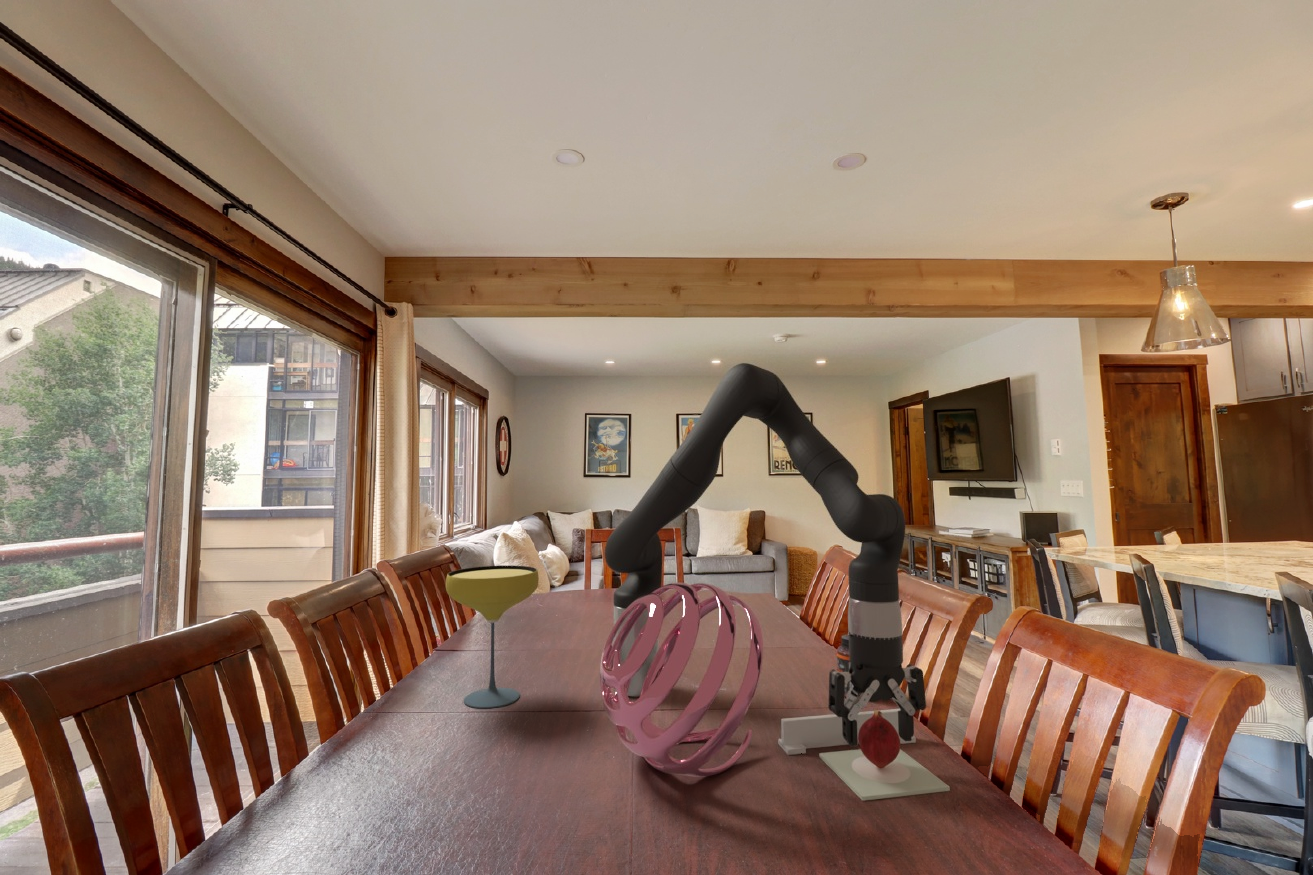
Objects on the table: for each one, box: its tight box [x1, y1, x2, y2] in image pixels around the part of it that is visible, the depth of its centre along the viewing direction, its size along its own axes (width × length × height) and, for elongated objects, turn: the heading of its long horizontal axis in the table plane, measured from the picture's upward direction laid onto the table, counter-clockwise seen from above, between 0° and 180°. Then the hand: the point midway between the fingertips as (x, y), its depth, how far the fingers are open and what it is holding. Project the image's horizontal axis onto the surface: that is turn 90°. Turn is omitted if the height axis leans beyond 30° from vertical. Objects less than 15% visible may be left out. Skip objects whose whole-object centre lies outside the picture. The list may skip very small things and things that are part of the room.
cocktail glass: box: [445, 565, 540, 710], centre depth 119 cm, size 18×18×25 cm
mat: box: [818, 748, 951, 802], centre depth 87 cm, size 13×13×1 cm
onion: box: [858, 709, 901, 768], centre depth 87 cm, size 6×6×8 cm
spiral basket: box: [599, 582, 765, 778], centre depth 93 cm, size 28×28×27 cm
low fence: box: [777, 708, 917, 756], centre depth 97 cm, size 22×4×4 cm, turn 100°
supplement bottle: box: [836, 634, 860, 698], centre depth 119 cm, size 6×6×11 cm
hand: (878, 741), depth 87 cm, fingers open, 8 cm apart
